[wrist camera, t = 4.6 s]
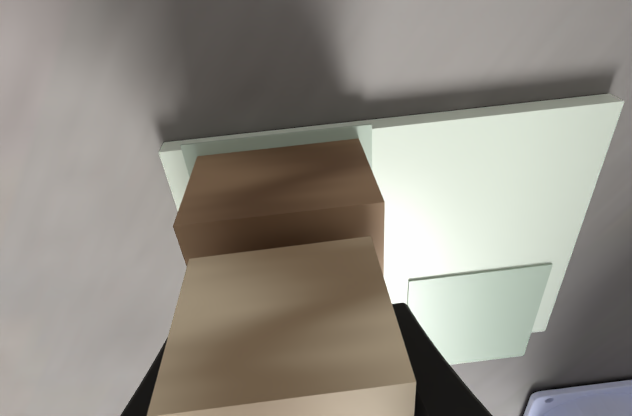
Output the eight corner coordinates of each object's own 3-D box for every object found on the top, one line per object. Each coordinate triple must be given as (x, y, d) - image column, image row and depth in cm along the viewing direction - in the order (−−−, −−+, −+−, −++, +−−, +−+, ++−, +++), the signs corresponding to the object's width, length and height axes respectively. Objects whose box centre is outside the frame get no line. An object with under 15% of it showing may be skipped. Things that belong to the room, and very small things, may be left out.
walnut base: (358, 138, 14) (384, 202, 11) (361, 260, 17) (382, 339, 14) (197, 156, 14) (173, 226, 11) (229, 276, 17) (218, 359, 14)
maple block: (371, 236, 10) (416, 381, 7) (374, 351, 13) (408, 499, 9) (189, 258, 10) (146, 416, 7) (228, 370, 13) (211, 525, 9)
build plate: (610, 87, 15) (628, 96, 14) (530, 339, 23) (538, 353, 22) (162, 137, 14) (156, 148, 14) (237, 376, 22) (235, 391, 21)
